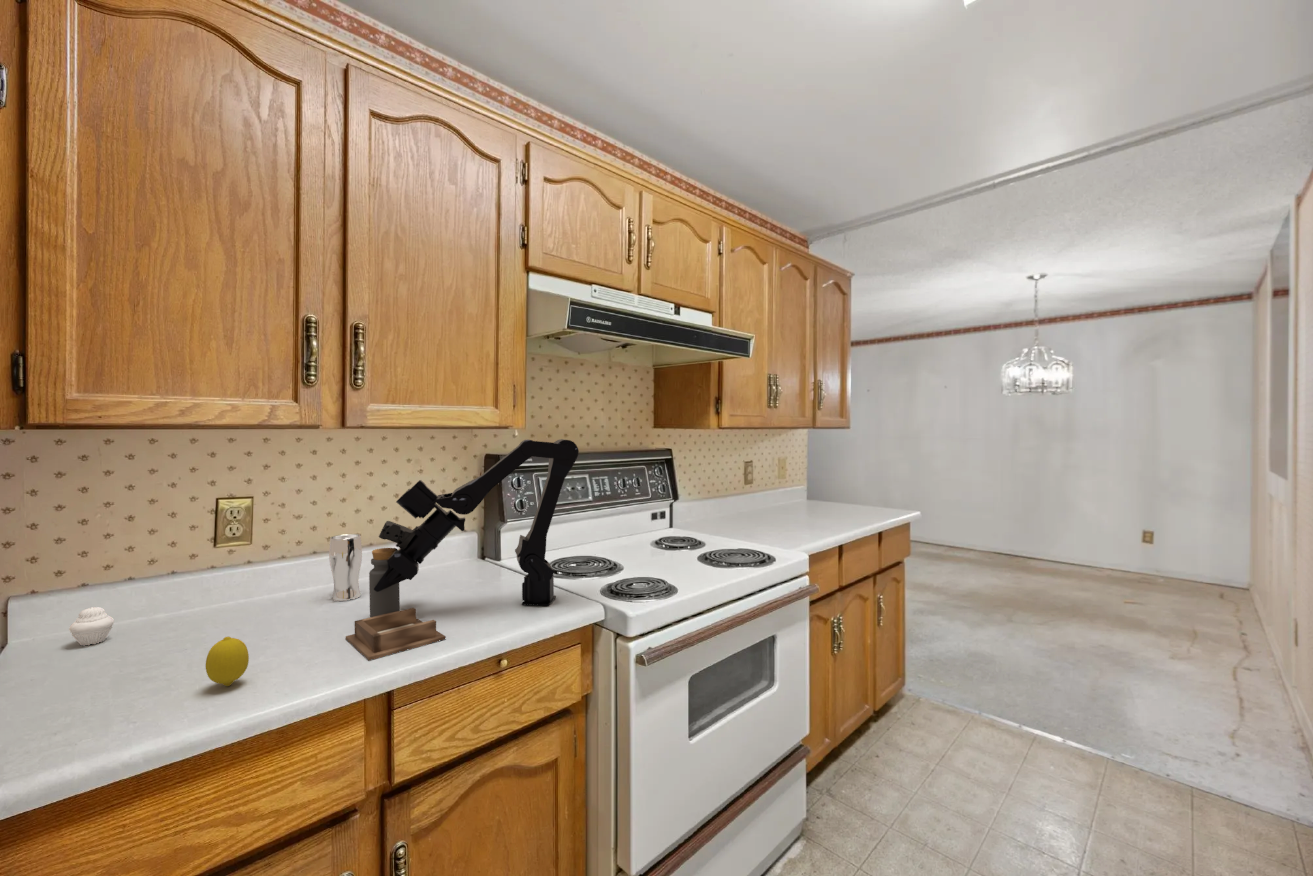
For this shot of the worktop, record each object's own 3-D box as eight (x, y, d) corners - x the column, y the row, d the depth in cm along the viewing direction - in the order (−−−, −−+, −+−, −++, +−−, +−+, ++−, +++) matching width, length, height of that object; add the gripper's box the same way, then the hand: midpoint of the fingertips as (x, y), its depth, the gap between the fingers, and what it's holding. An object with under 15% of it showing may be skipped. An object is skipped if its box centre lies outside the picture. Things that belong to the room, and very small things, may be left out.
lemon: (221, 678, 92) (220, 631, 92) (257, 677, 93) (255, 630, 93) (197, 695, 87) (196, 644, 87) (234, 693, 87) (233, 643, 87)
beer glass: (368, 596, 137) (367, 535, 137) (339, 603, 131) (338, 540, 131) (353, 591, 141) (351, 532, 140) (324, 599, 135) (323, 537, 134)
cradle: (417, 621, 119) (417, 604, 119) (445, 639, 109) (445, 621, 109) (345, 639, 109) (345, 621, 109) (368, 660, 99) (368, 640, 99)
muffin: (87, 638, 111) (85, 603, 110) (122, 635, 112) (121, 601, 112) (60, 650, 105) (59, 613, 104) (98, 647, 106) (97, 611, 106)
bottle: (387, 624, 118) (386, 553, 117) (363, 622, 119) (362, 552, 118) (405, 614, 123) (404, 547, 123) (382, 613, 125) (381, 546, 124)
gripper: (407, 502, 131) (355, 553, 127) (398, 514, 113) (337, 573, 110) (443, 533, 133) (393, 584, 130) (440, 550, 116) (382, 609, 112)
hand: (377, 586), depth 120 cm, fingers closed on bottle, 6 cm apart
